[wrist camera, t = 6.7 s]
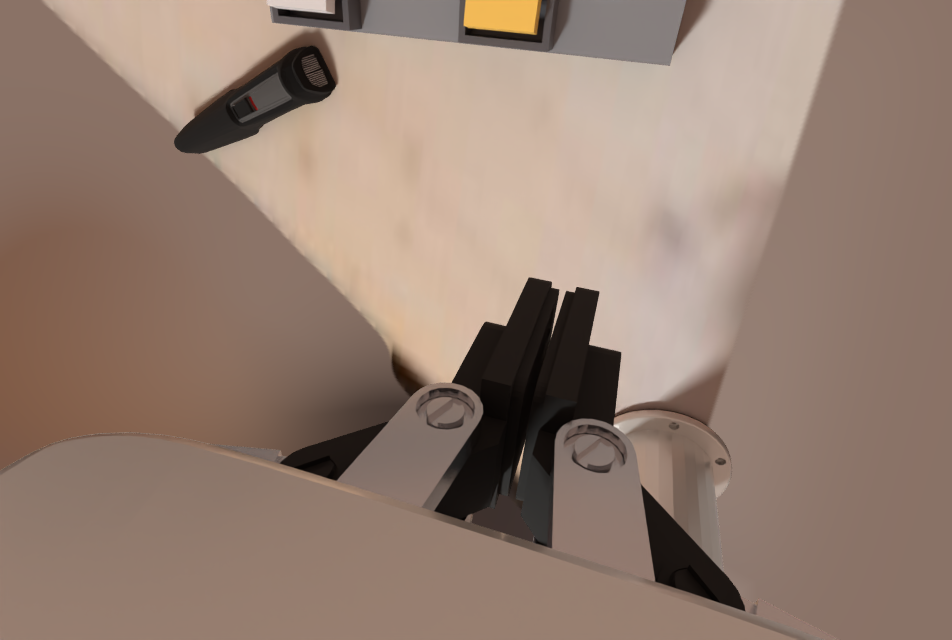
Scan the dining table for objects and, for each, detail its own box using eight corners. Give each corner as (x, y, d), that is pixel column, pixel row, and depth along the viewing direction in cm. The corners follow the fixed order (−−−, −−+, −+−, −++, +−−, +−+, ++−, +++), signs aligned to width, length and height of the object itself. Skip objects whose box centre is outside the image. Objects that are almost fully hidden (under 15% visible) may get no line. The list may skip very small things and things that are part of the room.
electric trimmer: (187, 116, 44) (158, 124, 42) (316, 39, 37) (290, 44, 35) (213, 157, 46) (186, 168, 43) (341, 91, 39) (318, 99, 36)
